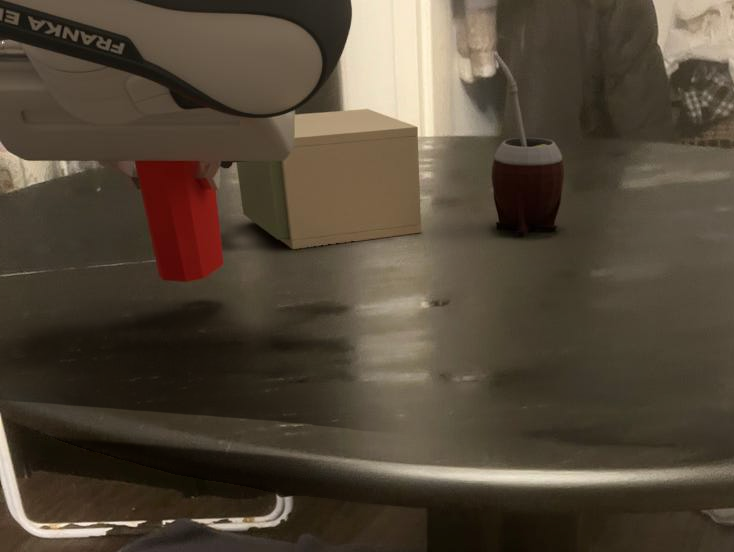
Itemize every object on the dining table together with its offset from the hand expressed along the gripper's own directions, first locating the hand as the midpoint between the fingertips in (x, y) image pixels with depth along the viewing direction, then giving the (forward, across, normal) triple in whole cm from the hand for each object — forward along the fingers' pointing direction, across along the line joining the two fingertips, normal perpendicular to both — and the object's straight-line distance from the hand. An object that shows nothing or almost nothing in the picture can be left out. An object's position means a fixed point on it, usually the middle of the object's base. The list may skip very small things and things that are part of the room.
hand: (177, 181), depth 74 cm
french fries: (+4, 0, -5) cm, 7 cm away
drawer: (+24, +4, +11) cm, 27 cm away
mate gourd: (+25, +26, +12) cm, 38 cm away
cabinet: (+26, +7, +12) cm, 29 cm away
